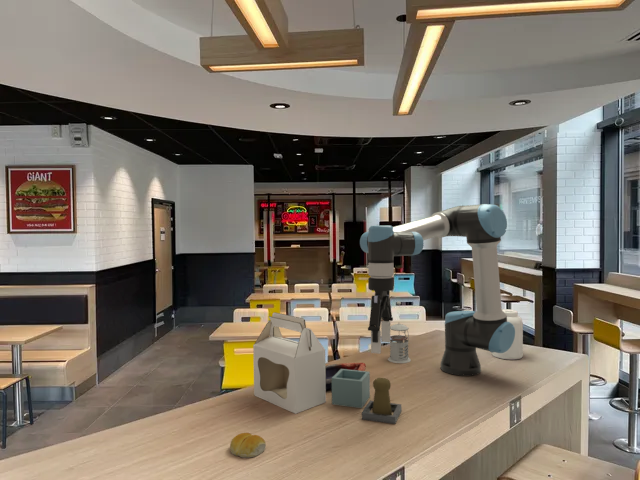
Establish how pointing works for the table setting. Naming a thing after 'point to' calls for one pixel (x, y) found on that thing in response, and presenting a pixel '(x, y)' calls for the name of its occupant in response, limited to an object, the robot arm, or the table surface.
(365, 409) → the socket collar
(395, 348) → the french press
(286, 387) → the gable box
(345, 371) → the open box
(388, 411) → the olive brown hourglass shape
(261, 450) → the bread roll
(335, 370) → the dish
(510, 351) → the white jar
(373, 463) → the table surface
